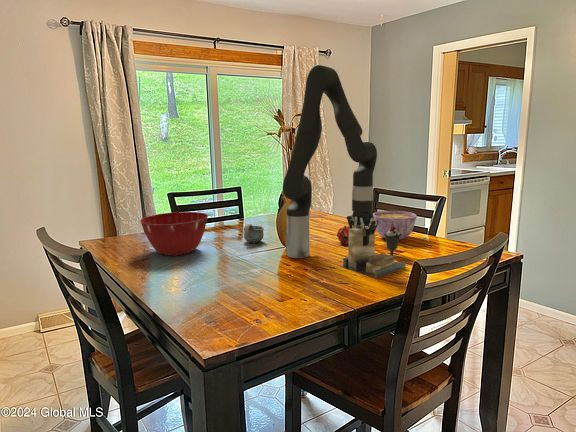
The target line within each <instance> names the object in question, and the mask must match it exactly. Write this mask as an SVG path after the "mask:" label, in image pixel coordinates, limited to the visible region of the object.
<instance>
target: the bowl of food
mask: <svg viewBox="0 0 576 432" xmlns="http://www.w3.org/2000/svg"><path fill="white" fill-rule="evenodd" d="M372 216H373V219H375V220H378V221H379V223H378V225H377V228H376V230H375V231H376V232H377V233H378V235H380V236H381V237H382V238H384V239H385V240H386V237H385V235H384V234H385V233H387V232H388V231H389V229H390V228H392V227H393V226H395V228H396V229H397V230H399V233H400V234H401V236H400V237H399V241H401V240H403V239H406V238H407V237H409V236H410V235H411V234H412V233H413V229H414V227H415V223H416V220H417V214H416V213H413V212H410V211H403V210H383V211H381V210H380V211H377V212H374V213H372ZM392 223H393V225H392ZM391 225H392V227H391Z"/></svg>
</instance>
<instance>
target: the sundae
mask: <svg viewBox="0 0 576 432" xmlns="http://www.w3.org/2000/svg"><path fill="white" fill-rule="evenodd" d="M392 225H393V223H392ZM392 225H391V227H392ZM384 235H385V237H386V239H385V244H386V248H387V249H388V250H389V253H390V254H389V255H392V256H394V257H395V255H394V252H395V250H397V249H398V246H399V241H400V240H399V237H400V236H401V234H400V233H399V230H397V229H396V228H395V226H393V227H392V228H390V229H389V231H388V232H387V233H385V234H384ZM385 237H384V238H385Z"/></svg>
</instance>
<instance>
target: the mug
mask: <svg viewBox="0 0 576 432" xmlns="http://www.w3.org/2000/svg"><path fill="white" fill-rule="evenodd" d="M264 230H265V227H264V226H262V225H252V223H246V224H245V225H244V228H243V232H244V233H243V234H244V235H243V239H244V240H245V241H246V242H247V243H251V244H259V243H260V242H261V241H262V240H263V238H264Z"/></svg>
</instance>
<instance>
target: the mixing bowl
mask: <svg viewBox="0 0 576 432" xmlns="http://www.w3.org/2000/svg"><path fill="white" fill-rule="evenodd" d="M208 217H209V214H207V213H205V212H199V211H197V212H196V211H176V212H174V211H173V212H165V213H164V212H163V213H158V214H151V215H149V216H144V217H142V218H141V219H140V220H139V222H140V224H141V226H142V230H143V232H144V234H145V236H146V239H147V240H148V241H149V244H150V245H151V246H152V247H153V249H154V250H155V251H156V252H158V253H159V254H161V255H163V254H166V255H165V256H167V255H177V256H182V255H181V254H184V255H187V254H186V253H188V254H190V253H192V252H193V251H194V250H196V249H197V248H198V247H199V245H200V243H201V241H202V238H203V236H204V233H205V230H206V226H207V225H206V224H207V221H208ZM191 251H192V252H191ZM189 252H190V253H189Z"/></svg>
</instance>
